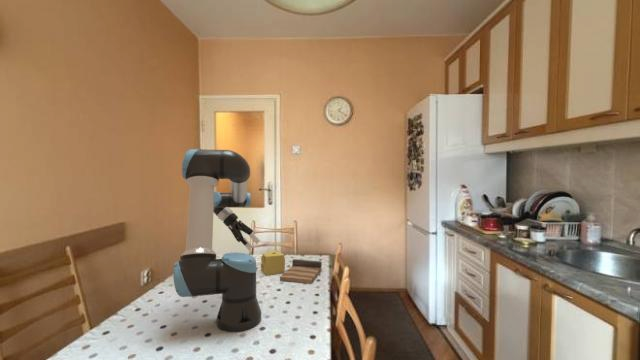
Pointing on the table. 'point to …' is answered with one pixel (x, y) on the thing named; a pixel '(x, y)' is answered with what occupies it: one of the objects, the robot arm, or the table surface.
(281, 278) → the walnut board
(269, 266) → the cheese
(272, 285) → the table surface
